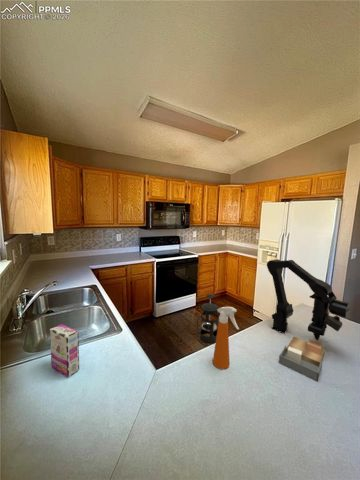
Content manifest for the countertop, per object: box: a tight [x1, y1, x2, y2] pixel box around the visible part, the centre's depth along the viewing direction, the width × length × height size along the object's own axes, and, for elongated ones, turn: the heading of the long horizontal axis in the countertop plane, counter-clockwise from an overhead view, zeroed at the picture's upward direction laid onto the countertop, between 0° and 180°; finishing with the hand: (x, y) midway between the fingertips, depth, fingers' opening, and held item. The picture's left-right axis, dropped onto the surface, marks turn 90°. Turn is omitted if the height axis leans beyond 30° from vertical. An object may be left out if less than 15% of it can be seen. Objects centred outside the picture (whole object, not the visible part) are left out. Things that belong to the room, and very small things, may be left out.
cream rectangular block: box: [287, 347, 302, 364], centre depth 86 cm, size 5×5×3 cm
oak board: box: [286, 336, 326, 367], centre depth 92 cm, size 13×13×2 cm
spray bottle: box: [212, 306, 240, 370], centre depth 81 cm, size 7×11×26 cm, turn 39°
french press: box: [196, 293, 220, 345], centre depth 100 cm, size 12×9×23 cm
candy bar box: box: [49, 323, 80, 379], centre depth 78 cm, size 11×5×16 cm, turn 62°
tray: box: [278, 345, 323, 382], centre depth 84 cm, size 14×9×4 cm, turn 48°
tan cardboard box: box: [307, 338, 323, 355], centre depth 91 cm, size 5×5×3 cm
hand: (317, 339), depth 97 cm, fingers closed
